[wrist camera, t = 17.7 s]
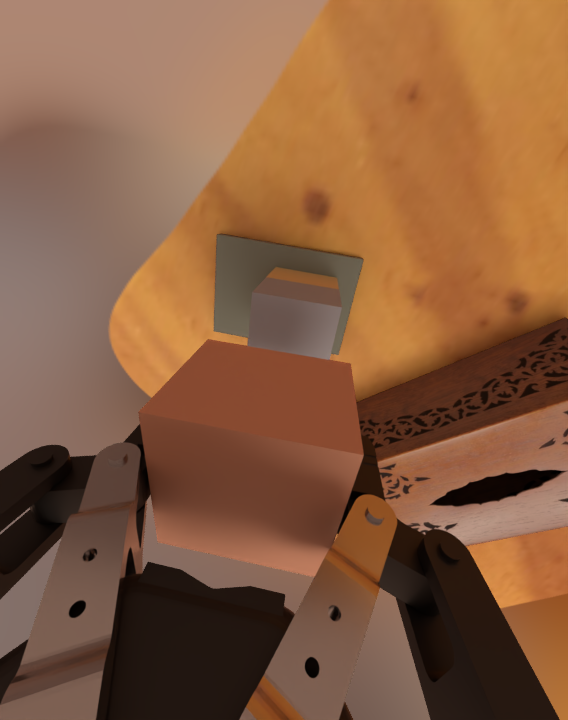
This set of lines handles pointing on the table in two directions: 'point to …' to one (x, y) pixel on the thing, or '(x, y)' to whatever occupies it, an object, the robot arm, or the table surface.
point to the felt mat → (256, 261)
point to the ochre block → (304, 277)
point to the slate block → (294, 318)
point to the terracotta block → (253, 455)
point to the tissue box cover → (479, 441)
